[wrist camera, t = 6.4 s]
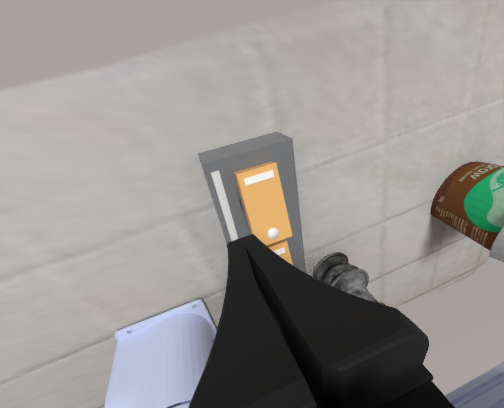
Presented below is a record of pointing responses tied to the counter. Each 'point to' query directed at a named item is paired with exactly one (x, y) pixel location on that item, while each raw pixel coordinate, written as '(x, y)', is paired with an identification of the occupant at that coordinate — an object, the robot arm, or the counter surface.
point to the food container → (474, 204)
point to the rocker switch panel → (227, 194)
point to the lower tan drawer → (281, 250)
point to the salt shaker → (343, 275)
